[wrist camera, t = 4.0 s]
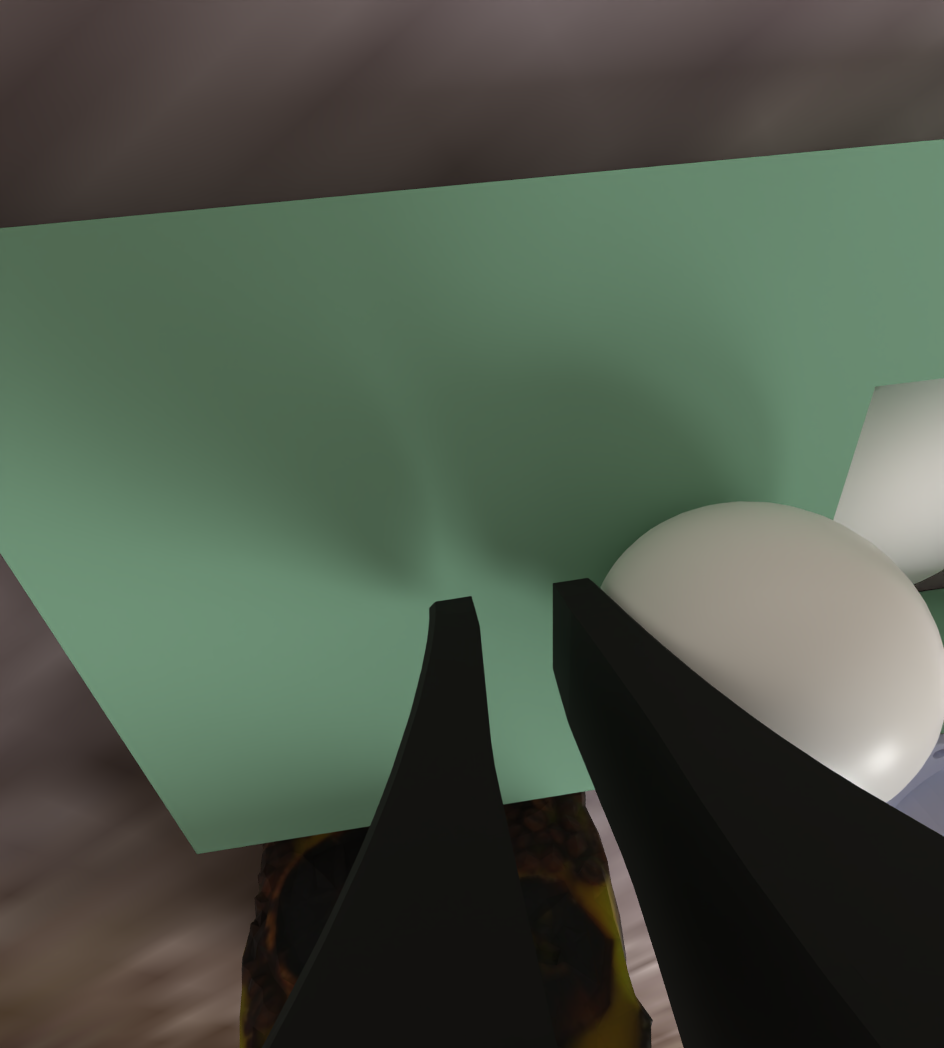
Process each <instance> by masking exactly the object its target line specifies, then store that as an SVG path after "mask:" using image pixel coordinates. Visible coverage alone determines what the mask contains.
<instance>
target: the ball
mask: <svg viewBox="0 0 944 1048" xmlns="http://www.w3.org/2000/svg"><path fill="white" fill-rule="evenodd" d="M600 588H601V589H602V590H603V591H604V592H605V593H606V594H607V595H608V596H609V597H610V598H611V599H612V600H613V601H614V602H616V603H617V604H618V605H619V606H620V607H621V608H622V609H623V610H624V611H625V612H626V613H627V614H628V615H630V616H631V617H632V618H633V619H634V620H635V621H636V622H637V623H638V624H640V625H641V626H642V627H643V628H644V629H645V630H646V631H647V632H648V633H650V634H651V635H652V636H653V637H654V638H655V639H656V640H658V641H659V642H660V643H661V644H662V645H663V646H665V647H666V648H667V649H668V650H669V651H671V652H672V653H673V654H674V655H675V656H676V657H678V658H679V659H680V660H681V661H682V662H684V663H685V664H686V665H687V666H688V667H690V668H691V669H692V670H693V671H694V672H696V673H697V674H698V675H699V676H701V677H702V678H703V679H704V680H706V681H707V682H708V683H709V684H711V685H712V686H713V687H714V688H716V689H717V690H718V691H720V692H721V693H722V694H724V695H725V696H726V697H728V698H729V699H730V700H732V701H733V702H734V703H735V704H737V705H738V706H739V707H741V708H742V709H743V710H745V711H746V712H747V713H749V714H750V715H752V716H753V717H754V718H756V719H757V720H758V721H760V722H761V723H763V724H764V725H765V726H767V727H768V728H770V729H771V730H772V731H774V732H775V733H777V734H778V735H780V736H781V737H782V738H784V739H785V740H787V741H788V742H790V743H791V744H793V745H794V746H796V747H797V748H799V749H800V750H802V751H803V752H805V753H806V754H808V755H809V756H811V757H812V758H814V759H815V760H817V761H818V762H820V763H821V764H823V765H825V766H826V767H828V768H829V769H831V770H832V771H834V772H836V773H837V774H839V775H841V776H842V777H844V778H845V779H847V780H849V781H850V782H852V783H853V784H855V785H857V786H858V787H860V788H862V789H863V790H865V791H867V792H868V793H870V794H872V795H874V796H875V797H877V798H879V799H880V800H882V801H884V802H888V801H889V800H891V799H892V798H893V797H895V796H896V795H897V794H898V793H899V792H900V791H902V790H903V789H904V788H905V787H906V786H907V784H908V783H909V782H910V781H911V780H912V779H913V778H914V777H915V776H916V775H917V773H918V772H919V771H920V770H921V768H922V767H923V765H924V764H925V762H926V761H927V759H928V757H929V756H930V754H931V753H932V751H933V749H934V747H935V745H936V743H937V741H938V738H939V735H940V732H941V728H942V725H943V722H944V647H943V644H942V640H941V637H940V634H939V630H938V628H937V625H936V623H935V621H934V619H933V617H932V615H931V613H930V611H929V609H928V607H927V604H926V602H925V601H924V599H923V598H922V596H921V595H920V593H919V592H918V591H917V589H916V588H915V586H914V585H913V583H912V582H911V581H910V579H909V578H908V577H907V576H906V575H905V574H904V573H903V572H902V571H901V569H900V568H899V567H898V566H897V565H896V564H895V563H894V562H893V561H892V560H891V559H890V558H889V557H888V556H887V555H886V554H885V553H883V552H882V551H881V550H880V549H879V548H877V547H876V546H875V545H874V544H872V543H871V542H870V541H868V540H867V539H865V538H863V537H862V536H860V535H859V534H857V533H855V532H854V531H852V530H851V529H849V528H847V527H846V526H844V525H842V524H840V523H838V522H836V521H833V520H831V519H829V518H827V517H825V516H822V515H820V514H816V513H813V512H810V511H806V510H803V509H800V508H796V507H792V506H788V505H782V504H776V503H770V502H745V501H737V502H728V503H720V504H713V505H707V506H704V507H700V508H697V509H693V510H690V511H687V512H683V513H681V514H679V515H677V516H674V517H672V518H670V519H668V520H666V521H664V522H662V523H660V524H658V525H657V526H655V527H653V528H652V529H650V530H649V531H648V532H646V533H645V534H644V535H642V536H641V537H640V538H639V539H637V540H636V541H635V542H634V543H633V544H632V545H631V546H630V547H629V548H628V549H627V550H626V551H625V552H624V553H623V554H622V555H621V556H620V557H619V558H618V560H617V561H616V562H615V564H614V565H613V566H612V568H611V569H610V571H609V573H608V574H607V576H606V577H605V579H604V581H603V583H602V585H601V587H600Z"/></svg>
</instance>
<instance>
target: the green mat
mask: <svg viewBox="0 0 944 1048" xmlns="http://www.w3.org/2000/svg"><path fill="white" fill-rule="evenodd" d="M737 501H745V502H770V503H776V504H782V505H788V506H792V507H796V508H800V509H803V510H806V511H810V512H813V513H816V514H820V515H822V516H825V517H827V518H829V519H831V520H833V521H836V522H838V523H840V524H842V525H844V526H846V527H847V528H849V529H851V530H852V531H854V532H855V533H857V534H859V535H860V536H862V537H863V538H865V539H867V540H868V541H870V542H871V543H872V544H874V545H875V546H876V547H877V548H879V549H880V550H881V551H882V552H883V553H885V554H886V555H887V556H888V557H889V558H890V559H891V560H892V561H893V562H894V563H895V564H896V565H897V566H898V567H899V568H900V569H901V571H902V572H903V573H904V574H905V575H906V576H907V577H908V578H909V579H910V581H911V582H912V583H913V584H916V583H918V582H921V581H923V580H925V579H927V578H929V577H931V576H933V575H935V574H937V573H939V572H940V571H942V570H944V139H940V140H930V141H919V142H908V143H898V144H887V145H877V146H866V147H855V148H845V149H834V150H824V151H813V152H802V153H792V154H781V155H771V156H760V157H750V158H739V159H728V160H718V161H707V162H697V163H686V164H675V165H665V166H654V167H644V168H633V169H622V170H612V171H601V172H591V173H580V174H569V175H559V176H548V177H538V178H527V179H517V180H506V181H495V182H485V183H474V184H464V185H453V186H442V187H432V188H421V189H411V190H400V191H389V192H379V193H368V194H358V195H347V196H337V197H326V198H315V199H305V200H294V201H284V202H273V203H262V204H252V205H241V206H231V207H220V208H209V209H199V210H188V211H178V212H167V213H156V214H146V215H135V216H125V217H114V218H104V219H93V220H82V221H72V222H61V223H51V224H40V225H29V226H19V227H8V228H0V553H1V555H2V556H3V558H4V559H5V561H6V562H7V564H8V566H9V567H10V569H11V570H12V572H13V573H14V575H15V576H16V578H17V579H18V581H19V582H20V584H21V585H22V587H23V588H24V590H25V592H26V593H27V595H28V596H29V598H30V599H31V601H32V602H33V604H34V605H35V607H36V608H37V610H38V611H39V613H40V615H41V616H42V618H43V619H44V621H45V622H46V624H47V625H48V627H49V628H50V630H51V631H52V633H53V634H54V636H55V637H56V639H57V641H58V642H59V644H60V645H61V647H62V648H63V650H64V651H65V653H66V654H67V656H68V657H69V659H70V660H71V662H72V663H73V665H74V667H75V668H76V670H77V671H78V673H79V674H80V676H81V677H82V679H83V680H84V682H85V683H86V685H87V686H88V688H89V690H90V691H91V693H92V694H93V696H94V697H95V699H96V700H97V702H98V703H99V705H100V706H101V708H102V709H103V711H104V712H105V714H106V716H107V717H108V719H109V720H110V722H111V723H112V725H113V726H114V728H115V729H116V731H117V732H118V734H119V735H120V737H121V738H122V740H123V742H124V743H125V745H126V746H127V748H128V749H129V751H130V752H131V754H132V755H133V757H134V758H135V760H136V761H137V763H138V765H139V766H140V768H141V769H142V771H143V772H144V774H145V775H146V777H147V778H148V780H149V781H150V783H151V784H152V786H153V787H154V789H155V791H156V792H157V794H158V795H159V797H160V798H161V800H162V801H163V803H164V804H165V806H166V807H167V809H168V810H169V812H170V813H171V815H172V817H173V818H174V820H175V821H176V823H177V824H178V826H179V827H180V829H181V830H182V832H183V833H184V835H185V836H186V838H187V840H188V841H189V843H190V844H191V846H192V847H193V849H194V850H195V852H196V853H197V854H201V853H207V852H213V851H219V850H225V849H232V848H238V847H244V846H250V845H256V844H262V843H269V842H275V841H281V840H287V839H293V838H299V837H306V836H312V835H318V834H324V833H330V832H336V831H343V830H349V829H355V828H361V827H367V826H370V824H371V822H372V820H373V817H374V815H375V812H376V810H377V807H378V805H379V802H380V800H381V797H382V794H383V792H384V789H385V786H386V784H387V781H388V778H389V776H390V773H391V770H392V767H393V764H394V761H395V758H396V755H397V752H398V749H399V746H400V743H401V740H402V737H403V734H404V731H405V728H406V725H407V722H408V718H409V715H410V712H411V708H412V704H413V700H414V696H415V692H416V689H417V685H418V681H419V677H420V673H421V669H422V664H423V659H424V654H425V649H426V643H427V636H428V627H429V608H430V607H431V606H432V604H433V603H434V602H436V601H442V600H449V599H455V598H462V597H468V596H472V600H473V603H474V606H475V610H476V613H477V617H478V621H479V625H480V632H481V643H482V653H483V663H484V673H485V683H486V693H487V704H488V714H489V724H490V734H491V743H492V750H493V757H494V763H495V769H496V773H497V778H498V783H499V787H500V792H501V797H502V801H503V804H509V803H515V802H522V801H528V800H534V799H540V798H546V797H552V796H559V795H565V794H571V793H577V792H583V791H590V790H595V788H594V786H593V783H592V781H591V778H590V776H589V773H588V771H587V769H586V766H585V764H584V761H583V759H582V756H581V754H580V751H579V749H578V746H577V744H576V742H575V739H574V737H573V734H572V732H571V729H570V727H569V724H568V721H567V717H566V714H565V711H564V707H563V704H562V700H561V697H560V693H559V690H558V686H557V682H556V679H555V675H554V672H553V583H557V582H564V581H570V580H576V579H583V578H589V579H590V580H592V581H593V582H594V583H595V584H596V585H597V586H598V587H601V585H602V583H603V581H604V579H605V577H606V576H607V574H608V573H609V571H610V569H611V568H612V566H613V565H614V564H615V562H616V561H617V560H618V558H619V557H620V556H621V555H622V554H623V553H624V552H625V551H626V550H627V549H628V548H629V547H630V546H631V545H632V544H633V543H634V542H635V541H636V540H637V539H639V538H640V537H641V536H642V535H644V534H645V533H646V532H648V531H649V530H650V529H652V528H653V527H655V526H657V525H658V524H660V523H662V522H664V521H666V520H668V519H670V518H672V517H674V516H677V515H679V514H681V513H683V512H687V511H690V510H693V509H697V508H700V507H704V506H707V505H713V504H720V503H728V502H737ZM919 593H920V595H921V596H922V598H923V599H924V601H925V602H926V604H927V607H928V609H929V611H930V613H931V615H932V617H933V619H934V621H935V623H936V625H937V628H938V630H939V634H940V637H941V640H942V644H943V647H944V588H943V589H936V590H929V591H922V592H919ZM941 733H944V722H943V725H942V728H941V732H940V734H941Z"/></svg>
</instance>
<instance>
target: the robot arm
mask: <svg viewBox="0 0 944 1048" xmlns="http://www.w3.org/2000/svg"><path fill="white" fill-rule="evenodd" d="M553 672H554V675H555V679H556V682H557V686H558V690H559V693H560V697H561V700H562V704H563V707H564V711H565V714H566V717H567V721H568V724H569V727H570V729H571V732H572V734H573V737H574V739H575V742H576V744H577V746H578V749H579V751H580V754H581V756H582V759H583V761H584V764H585V766H586V769H587V771H588V773H589V776H590V778H591V781H592V783H593V786H594V788H595V790H596V793H597V795H598V798H599V800H600V803H601V805H602V807H603V810H604V812H605V815H606V817H607V819H608V822H609V824H610V827H611V829H612V832H613V834H614V836H615V839H616V841H617V844H618V846H619V849H620V851H621V853H622V856H623V859H624V861H625V864H626V867H627V869H628V872H629V875H630V878H631V880H632V883H633V886H634V889H635V892H636V895H637V898H638V901H639V904H640V907H641V911H642V914H643V917H644V920H645V923H646V926H647V930H648V933H649V936H650V939H651V942H652V945H653V949H654V952H655V955H656V958H657V961H658V964H659V968H660V971H661V974H662V978H663V981H664V984H665V988H666V991H667V994H668V997H669V1001H670V1004H671V1007H672V1011H673V1014H674V1017H675V1020H676V1024H677V1027H678V1030H679V1034H680V1037H681V1040H682V1044H683V1047H684V1048H944V734H940V735H939V738H938V741H937V743H936V745H935V747H934V749H933V751H932V753H931V754H930V756H929V757H928V759H927V761H926V762H925V764H924V765H923V767H922V768H921V770H920V771H919V772H918V773H917V775H916V776H915V777H914V778H913V779H912V780H911V781H910V782H909V783H908V784H907V786H906V787H905V788H904V789H903V790H902V791H900V792H899V793H898V794H897V795H896V796H895V797H893V798H892V799H891V800H889V801H888V802H884V801H882V800H880V799H879V798H877V797H875V796H874V795H872V794H870V793H868V792H867V791H865V790H863V789H862V788H860V787H858V786H857V785H855V784H853V783H852V782H850V781H849V780H847V779H845V778H844V777H842V776H841V775H839V774H837V773H836V772H834V771H832V770H831V769H829V768H828V767H826V766H825V765H823V764H821V763H820V762H818V761H817V760H815V759H814V758H812V757H811V756H809V755H808V754H806V753H805V752H803V751H802V750H800V749H799V748H797V747H796V746H794V745H793V744H791V743H790V742H788V741H787V740H785V739H784V738H782V737H781V736H780V735H778V734H777V733H775V732H774V731H772V730H771V729H770V728H768V727H767V726H765V725H764V724H763V723H761V722H760V721H758V720H757V719H756V718H754V717H753V716H752V715H750V714H749V713H747V712H746V711H745V710H743V709H742V708H741V707H739V706H738V705H737V704H735V703H734V702H733V701H732V700H730V699H729V698H728V697H726V696H725V695H724V694H722V693H721V692H720V691H718V690H717V689H716V688H714V687H713V686H712V685H711V684H709V683H708V682H707V681H706V680H704V679H703V678H702V677H701V676H699V675H698V674H697V673H696V672H694V671H693V670H692V669H691V668H690V667H688V666H687V665H686V664H685V663H684V662H682V661H681V660H680V659H679V658H678V657H676V656H675V655H674V654H673V653H672V652H671V651H669V650H668V649H667V648H666V647H665V646H663V645H662V644H661V643H660V642H659V641H658V640H656V639H655V638H654V637H653V636H652V635H651V634H650V633H648V632H647V631H646V630H645V629H644V628H643V627H642V626H641V625H640V624H638V623H637V622H636V621H635V620H634V619H633V618H632V617H631V616H630V615H628V614H627V613H626V612H625V611H624V610H623V609H622V608H621V607H620V606H619V605H618V604H617V603H616V602H614V601H613V600H612V599H611V598H610V597H609V596H608V595H607V594H606V593H605V592H604V591H603V590H602V589H601V588H600V587H598V586H597V585H596V584H595V583H594V582H593V581H592V580H590V579H589V578H583V579H576V580H570V581H564V582H557V583H553ZM262 1048H558V1047H557V1043H556V1038H555V1034H554V1030H553V1025H552V1021H551V1017H550V1012H549V1008H548V1003H547V999H546V995H545V990H544V986H543V981H542V977H541V973H540V968H539V964H538V959H537V955H536V951H535V946H534V942H533V937H532V933H531V929H530V924H529V920H528V915H527V911H526V906H525V902H524V897H523V893H522V888H521V884H520V879H519V875H518V870H517V866H516V861H515V856H514V852H513V847H512V843H511V838H510V834H509V829H508V825H507V820H506V815H505V811H504V806H503V801H502V797H501V792H500V787H499V783H498V778H497V773H496V769H495V763H494V757H493V750H492V743H491V734H490V724H489V714H488V704H487V693H486V683H485V673H484V663H483V653H482V643H481V632H480V625H479V621H478V617H477V613H476V610H475V606H474V603H473V600H472V596H468V597H462V598H455V599H449V600H442V601H436V602H434V603H433V604H432V606H431V607H430V608H429V627H428V636H427V643H426V649H425V654H424V659H423V664H422V669H421V673H420V677H419V681H418V685H417V689H416V692H415V696H414V700H413V704H412V708H411V712H410V715H409V718H408V722H407V725H406V728H405V731H404V734H403V737H402V740H401V743H400V746H399V749H398V752H397V755H396V758H395V761H394V764H393V767H392V770H391V773H390V776H389V778H388V781H387V784H386V786H385V789H384V792H383V794H382V797H381V800H380V802H379V805H378V807H377V810H376V812H375V815H374V817H373V820H372V822H371V824H370V827H369V829H368V832H367V834H366V837H365V839H364V841H363V844H362V846H361V848H360V851H359V853H358V855H357V857H356V860H355V862H354V864H353V866H352V868H351V871H350V873H349V875H348V877H347V879H346V882H345V884H344V886H343V888H342V890H341V893H340V895H339V897H338V899H337V902H336V904H335V906H334V908H333V910H332V912H331V914H330V916H329V918H328V920H327V923H326V925H325V927H324V929H323V931H322V933H321V935H320V937H319V939H318V941H317V943H316V945H315V947H314V949H313V951H312V953H311V955H310V957H309V958H308V960H307V962H306V964H305V966H304V968H303V970H302V972H301V974H300V976H299V978H298V980H297V981H296V983H295V985H294V987H293V989H292V991H291V993H290V995H289V997H288V999H287V1001H286V1002H285V1004H284V1006H283V1008H282V1010H281V1012H280V1014H279V1016H278V1018H277V1020H276V1022H275V1024H274V1025H273V1027H272V1029H271V1031H270V1033H269V1035H268V1037H267V1039H266V1041H265V1043H264V1045H263V1046H262Z"/></svg>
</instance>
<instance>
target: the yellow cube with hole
mask: <svg viewBox="0 0 944 1048" xmlns="http://www.w3.org/2000/svg"><path fill="white" fill-rule="evenodd" d="M585 796H586V795H585V791H583V792H577V793H571V794H565V795H559V796H552V797H546V798H540V799H534V800H528V801H522V802H515V803H509V804H503V806H504V811H505V815H506V820H507V825H508V829H509V834H510V838H511V843H512V847H513V852H514V856H515V861H516V866H517V870H518V875H519V879H520V884H521V888H522V893H523V897H524V902H525V906H526V911H527V915H528V920H529V924H530V929H531V933H532V937H533V942H534V946H535V951H536V955H537V959H538V964H539V968H540V973H541V977H542V981H543V986H544V990H545V995H546V999H547V1003H548V1008H549V1012H550V1017H551V1021H552V1025H553V1030H554V1034H555V1038H556V1043H557V1047H558V1048H651V1025H652V1021H653V1020H652V1019H651V1017H650V1016H649V1014H648V1013H647V1012H646V1010H645V1009H644V1007H643V1006H642V1004H641V1003H640V1002H639V1000H638V999H637V997H636V996H635V993H634V990H633V987H632V984H631V980H630V977H629V974H628V970H627V966H626V953H625V947H624V940H623V933H622V927H621V920H620V914H619V911H618V907H617V903H616V899H615V895H614V891H613V888H612V884H611V879H610V873H609V867H608V861H607V858H606V855H605V852H604V848H603V845H602V842H601V839H600V836H599V833H598V831H597V829H596V827H595V825H594V823H593V821H592V819H591V817H590V815H589V813H588V811H587V808H586V806H585ZM369 827H370V826H367V827H361V828H355V829H349V830H343V831H336V832H330V833H324V834H318V835H312V836H306V837H299V838H293V839H287V840H281V841H275V842H269V843H264V845H263V854H262V862H261V872H260V873H259V875H258V881H259V894H258V895H257V896H256V897H255V911H256V919H255V920H254V922H252V923H251V926H250V932H249V936H248V940H247V943H246V947H245V951H244V954H243V959H242V996H241V1009H240V1048H262V1046H263V1045H264V1043H265V1041H266V1039H267V1037H268V1035H269V1033H270V1031H271V1029H272V1027H273V1025H274V1024H275V1022H276V1020H277V1018H278V1016H279V1014H280V1012H281V1010H282V1008H283V1006H284V1004H285V1002H286V1001H287V999H288V997H289V995H290V993H291V991H292V989H293V987H294V985H295V983H296V981H297V980H298V978H299V976H300V974H301V972H302V970H303V968H304V966H305V964H306V962H307V960H308V958H309V957H310V955H311V953H312V951H313V949H314V947H315V945H316V943H317V941H318V939H319V937H320V935H321V933H322V931H323V929H324V927H325V925H326V923H327V920H328V918H329V916H330V914H331V912H332V910H333V908H334V906H335V904H336V902H337V899H338V897H339V895H340V893H341V890H342V888H343V886H344V884H345V882H346V879H347V877H348V875H349V873H350V871H351V868H352V866H353V864H354V862H355V860H356V857H357V855H358V853H359V851H360V848H361V846H362V844H363V841H364V839H365V837H366V834H367V832H368V829H369Z"/></svg>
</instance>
